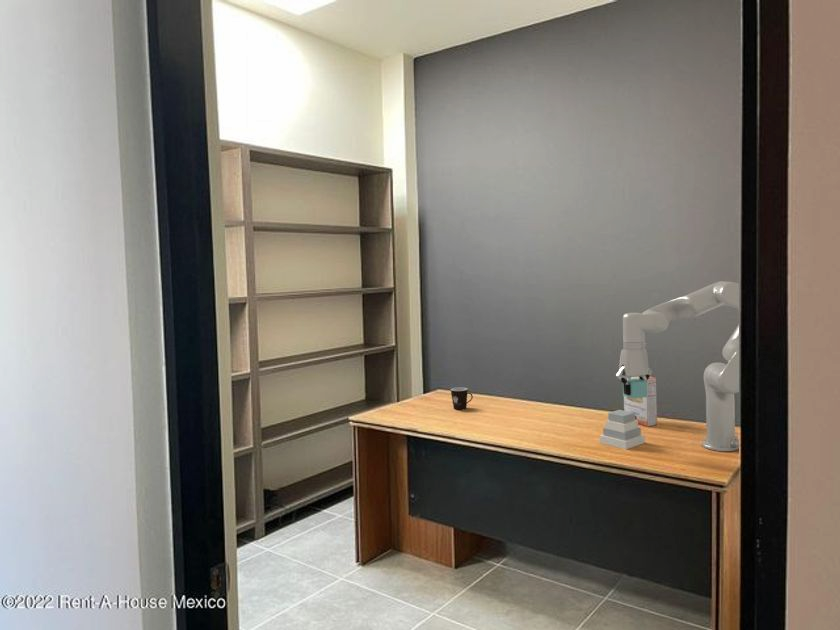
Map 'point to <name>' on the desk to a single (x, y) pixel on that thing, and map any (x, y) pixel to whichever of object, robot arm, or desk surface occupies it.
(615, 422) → the tower
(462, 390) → the coffee mug
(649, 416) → the cracker box
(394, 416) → the desk surface
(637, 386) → the small aqua cube
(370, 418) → the desk surface
